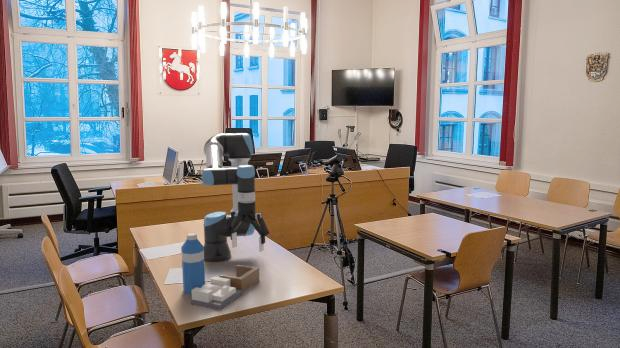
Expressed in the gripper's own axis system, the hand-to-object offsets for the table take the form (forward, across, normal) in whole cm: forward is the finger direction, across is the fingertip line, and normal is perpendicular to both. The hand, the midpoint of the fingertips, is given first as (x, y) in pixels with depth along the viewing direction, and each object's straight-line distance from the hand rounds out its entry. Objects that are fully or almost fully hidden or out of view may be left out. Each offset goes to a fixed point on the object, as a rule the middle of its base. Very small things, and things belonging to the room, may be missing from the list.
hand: (247, 249), depth 200 cm
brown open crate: (+17, -5, 0) cm, 18 cm away
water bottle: (+17, -20, -13) cm, 29 cm away
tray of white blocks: (+21, -5, -17) cm, 27 cm away
